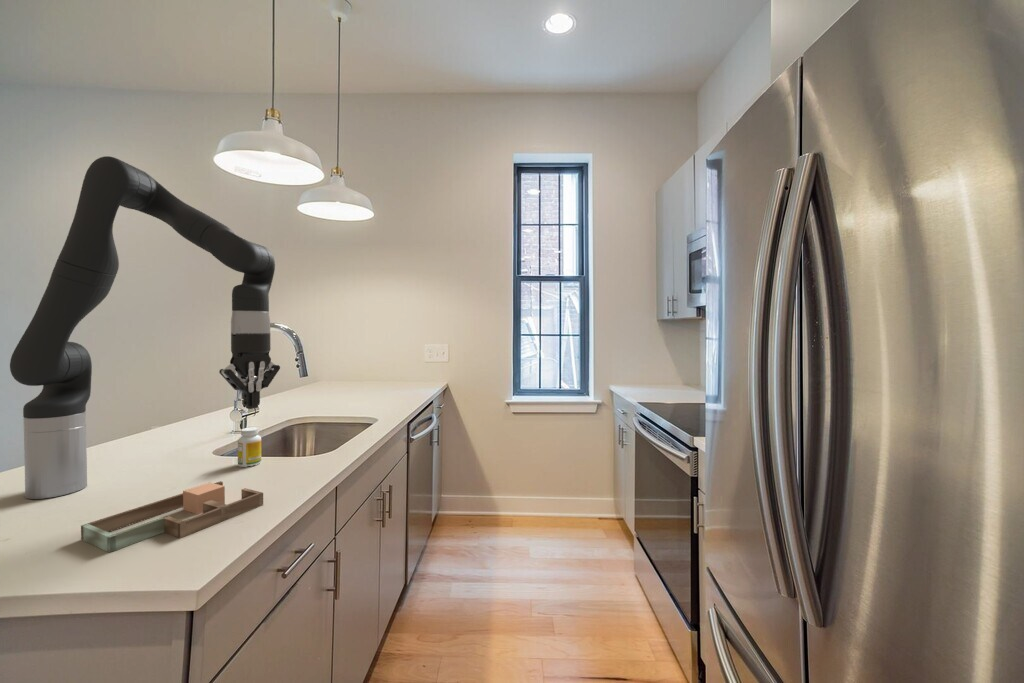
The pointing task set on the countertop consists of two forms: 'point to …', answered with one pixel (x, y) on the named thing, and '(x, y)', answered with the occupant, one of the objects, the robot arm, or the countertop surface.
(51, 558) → the countertop surface
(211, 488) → the terracotta block
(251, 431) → the supplement bottle
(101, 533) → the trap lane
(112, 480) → the countertop surface
